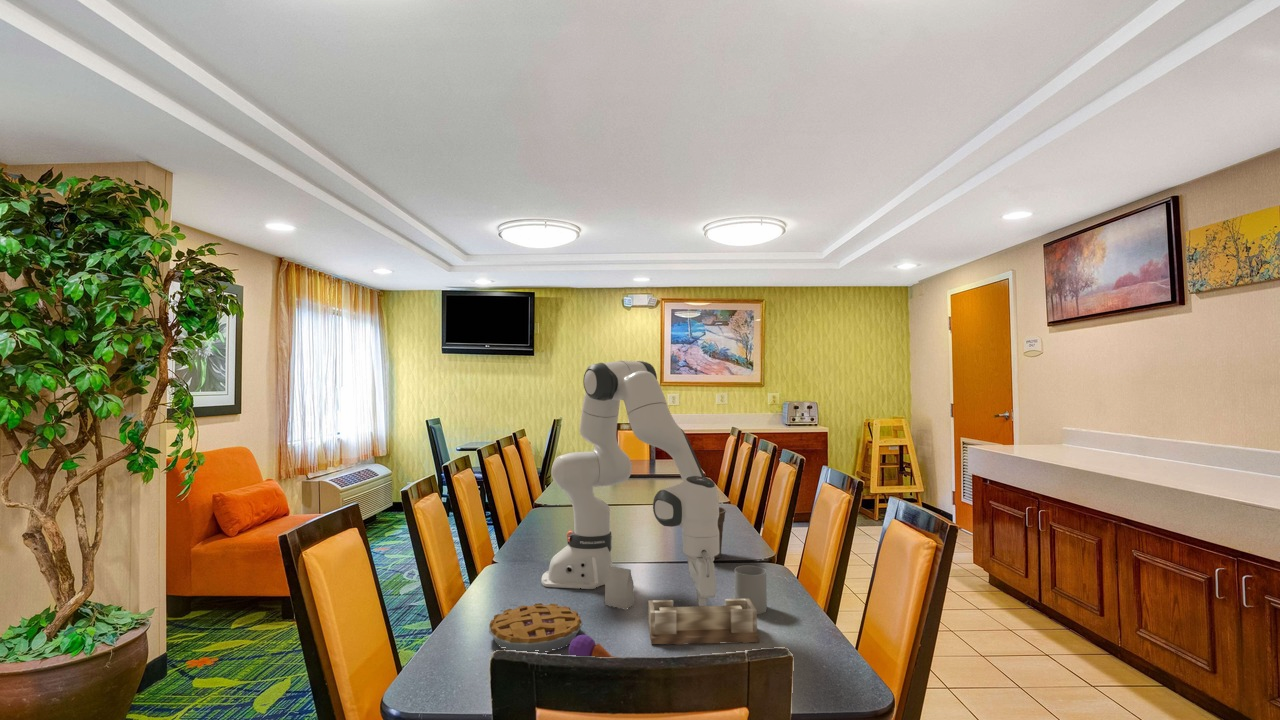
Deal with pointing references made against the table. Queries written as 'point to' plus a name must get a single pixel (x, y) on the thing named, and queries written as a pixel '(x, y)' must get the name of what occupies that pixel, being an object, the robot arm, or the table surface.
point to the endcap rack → (665, 630)
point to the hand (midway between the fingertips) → (701, 603)
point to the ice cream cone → (586, 647)
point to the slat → (702, 617)
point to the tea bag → (619, 587)
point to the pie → (535, 628)
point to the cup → (751, 586)
